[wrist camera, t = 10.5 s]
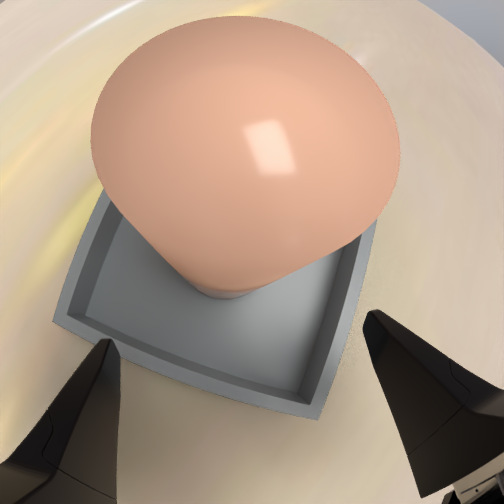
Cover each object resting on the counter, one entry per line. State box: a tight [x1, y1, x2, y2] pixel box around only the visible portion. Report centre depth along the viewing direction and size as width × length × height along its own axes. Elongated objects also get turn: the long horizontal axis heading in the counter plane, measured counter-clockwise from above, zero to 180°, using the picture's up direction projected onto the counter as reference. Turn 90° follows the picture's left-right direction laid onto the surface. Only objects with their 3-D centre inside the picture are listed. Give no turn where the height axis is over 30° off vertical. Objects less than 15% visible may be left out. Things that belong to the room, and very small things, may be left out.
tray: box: [52, 189, 377, 420], centre depth 18 cm, size 16×16×4 cm
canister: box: [91, 16, 400, 300], centre depth 12 cm, size 6×6×14 cm
